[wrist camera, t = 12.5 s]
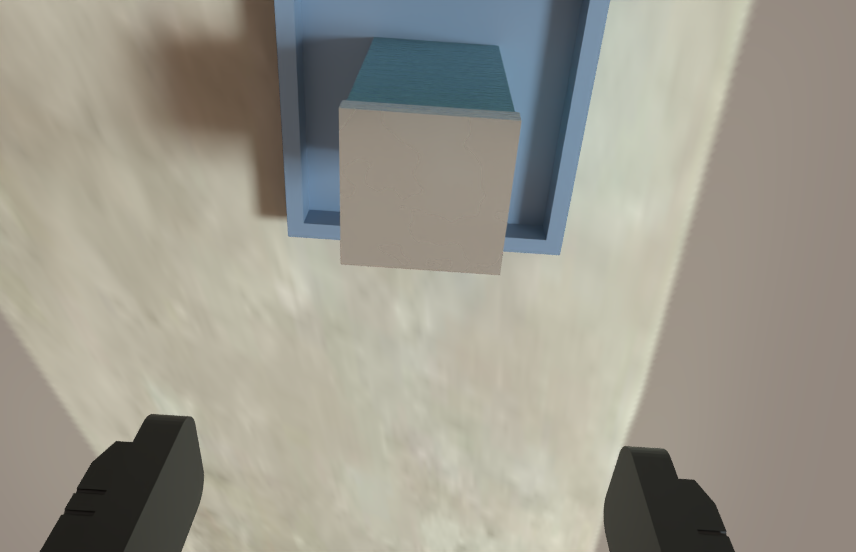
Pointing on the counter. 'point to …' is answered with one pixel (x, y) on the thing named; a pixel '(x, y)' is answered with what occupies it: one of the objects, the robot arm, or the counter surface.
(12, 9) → the counter surface
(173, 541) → the robot arm
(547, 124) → the tray
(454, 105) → the tea tin
